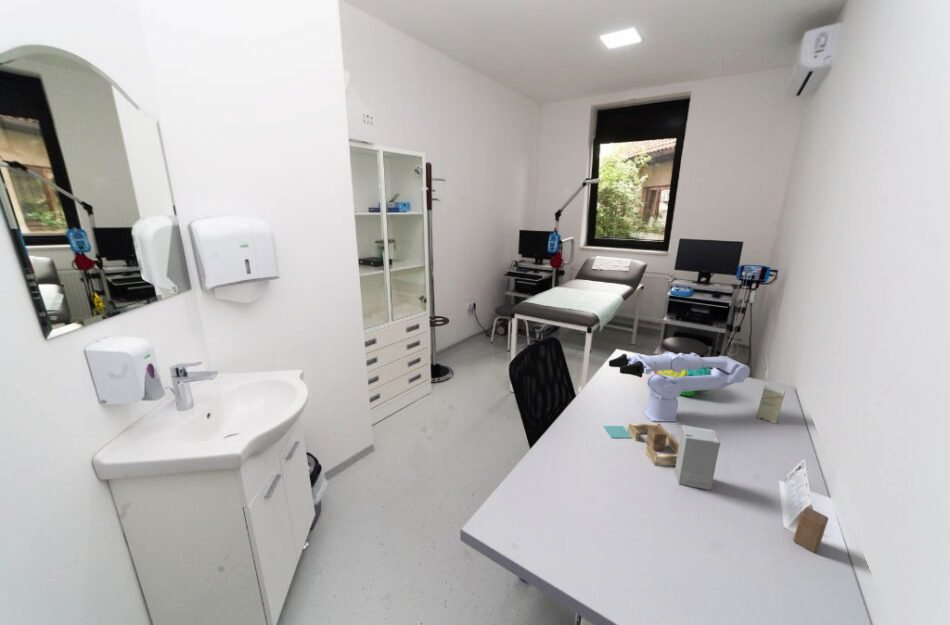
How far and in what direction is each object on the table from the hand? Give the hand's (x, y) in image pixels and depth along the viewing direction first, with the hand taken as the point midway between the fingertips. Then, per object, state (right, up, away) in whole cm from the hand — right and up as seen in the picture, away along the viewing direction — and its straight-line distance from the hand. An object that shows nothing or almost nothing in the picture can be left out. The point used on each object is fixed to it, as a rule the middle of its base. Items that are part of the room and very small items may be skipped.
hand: (614, 366), depth 130 cm
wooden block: (+27, -34, -46) cm, 63 cm away
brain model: (+41, -15, +30) cm, 53 cm away
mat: (0, -22, -3) cm, 23 cm away
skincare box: (+12, -29, -26) cm, 41 cm away
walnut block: (+9, -25, -11) cm, 29 cm away
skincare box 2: (+61, -21, +8) cm, 65 cm away
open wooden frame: (+10, -25, -11) cm, 29 cm away
